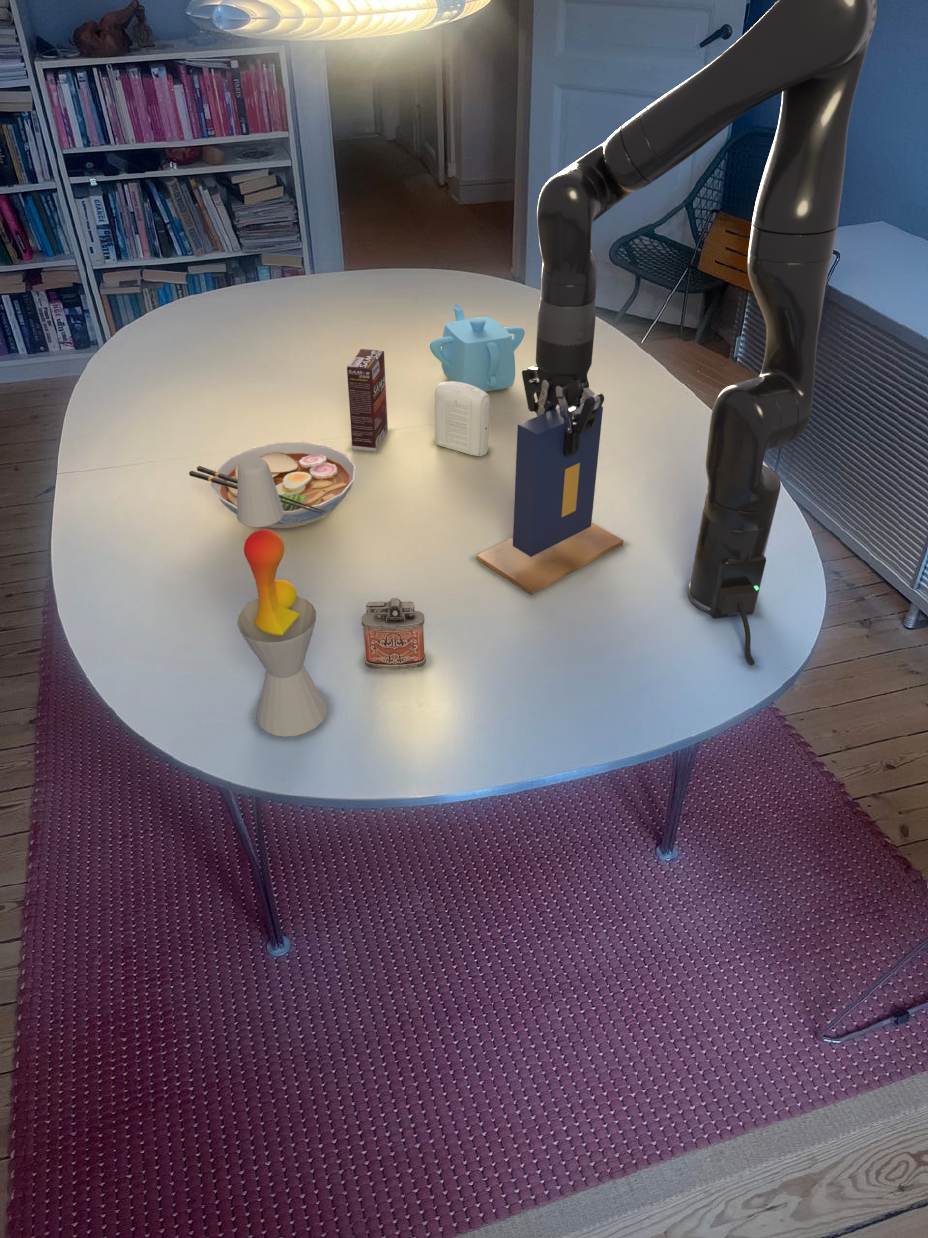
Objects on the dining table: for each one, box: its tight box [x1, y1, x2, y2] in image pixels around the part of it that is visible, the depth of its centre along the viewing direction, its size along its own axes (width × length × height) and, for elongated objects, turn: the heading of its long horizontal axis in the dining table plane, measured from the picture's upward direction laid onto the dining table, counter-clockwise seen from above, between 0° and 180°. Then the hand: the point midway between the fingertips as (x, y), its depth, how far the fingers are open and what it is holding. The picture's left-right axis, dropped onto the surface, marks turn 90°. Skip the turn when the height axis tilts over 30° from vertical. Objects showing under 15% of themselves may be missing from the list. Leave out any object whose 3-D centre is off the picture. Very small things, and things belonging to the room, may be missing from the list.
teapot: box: [429, 304, 526, 392], centre depth 191 cm, size 18×16×14 cm
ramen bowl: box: [188, 441, 357, 529], centre depth 153 cm, size 25×23×8 cm
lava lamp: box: [236, 457, 327, 738], centre depth 108 cm, size 9×9×35 cm
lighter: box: [360, 597, 427, 671], centre depth 123 cm, size 8×3×10 cm, turn 92°
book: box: [512, 405, 604, 557], centre depth 139 cm, size 20×4×13 cm
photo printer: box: [434, 380, 491, 457], centre depth 169 cm, size 10×4×12 cm, turn 60°
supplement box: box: [346, 348, 389, 453], centre depth 171 cm, size 9×5×16 cm, turn 168°
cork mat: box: [476, 522, 624, 595], centre depth 146 cm, size 20×12×1 cm, turn 131°
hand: (557, 447), depth 136 cm, fingers closed on book, 4 cm apart
